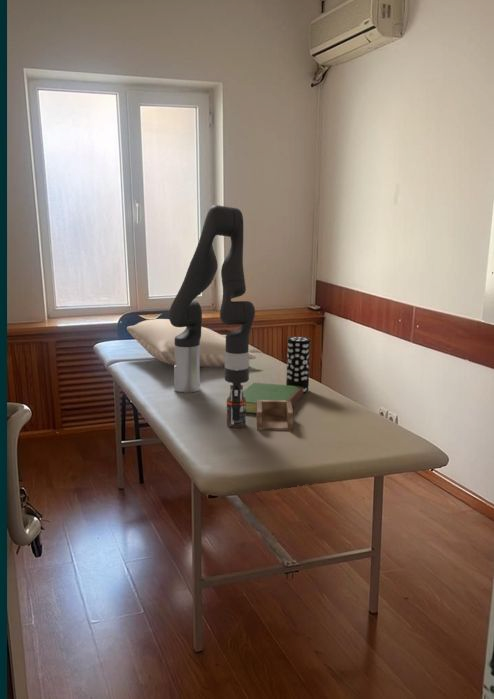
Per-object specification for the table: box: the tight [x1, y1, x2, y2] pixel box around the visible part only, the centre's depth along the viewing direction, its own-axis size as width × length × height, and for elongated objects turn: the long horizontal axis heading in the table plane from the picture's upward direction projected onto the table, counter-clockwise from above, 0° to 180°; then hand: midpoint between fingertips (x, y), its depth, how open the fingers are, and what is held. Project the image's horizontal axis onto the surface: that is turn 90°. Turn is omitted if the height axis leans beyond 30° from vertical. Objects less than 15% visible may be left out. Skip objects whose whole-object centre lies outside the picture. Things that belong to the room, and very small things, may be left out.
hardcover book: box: [242, 382, 304, 415], centre depth 214 cm, size 25×19×4 cm
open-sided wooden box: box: [256, 400, 294, 431], centre depth 194 cm, size 11×12×6 cm
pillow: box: [126, 318, 257, 368], centre depth 265 cm, size 44×18×44 cm
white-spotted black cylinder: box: [285, 336, 311, 395], centre depth 227 cm, size 8×8×20 cm
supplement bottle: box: [226, 392, 247, 429], centre depth 192 cm, size 6×6×11 cm
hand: (236, 415), depth 192 cm, fingers open, 8 cm apart
